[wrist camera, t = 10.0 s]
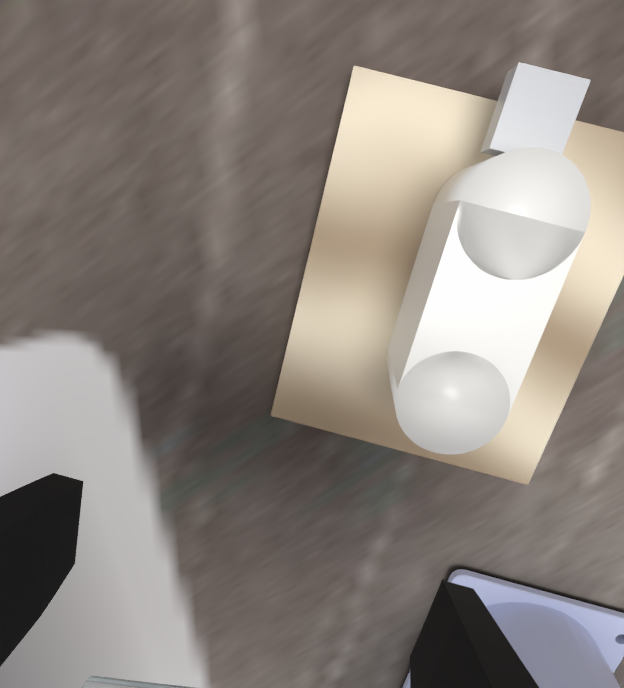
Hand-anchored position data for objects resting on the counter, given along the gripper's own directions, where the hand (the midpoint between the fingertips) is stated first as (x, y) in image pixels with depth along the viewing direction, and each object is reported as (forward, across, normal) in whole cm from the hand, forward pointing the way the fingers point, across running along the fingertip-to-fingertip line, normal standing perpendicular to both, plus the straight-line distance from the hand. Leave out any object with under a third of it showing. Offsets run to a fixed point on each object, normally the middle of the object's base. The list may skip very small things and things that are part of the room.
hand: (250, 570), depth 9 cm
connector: (+8, -4, -6) cm, 11 cm away
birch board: (+9, -4, -5) cm, 11 cm away
